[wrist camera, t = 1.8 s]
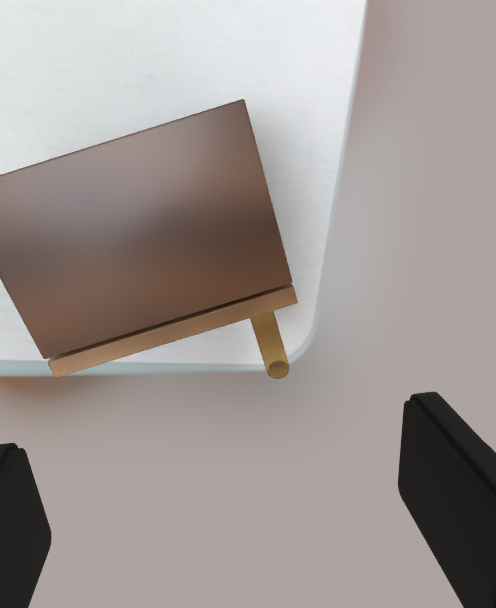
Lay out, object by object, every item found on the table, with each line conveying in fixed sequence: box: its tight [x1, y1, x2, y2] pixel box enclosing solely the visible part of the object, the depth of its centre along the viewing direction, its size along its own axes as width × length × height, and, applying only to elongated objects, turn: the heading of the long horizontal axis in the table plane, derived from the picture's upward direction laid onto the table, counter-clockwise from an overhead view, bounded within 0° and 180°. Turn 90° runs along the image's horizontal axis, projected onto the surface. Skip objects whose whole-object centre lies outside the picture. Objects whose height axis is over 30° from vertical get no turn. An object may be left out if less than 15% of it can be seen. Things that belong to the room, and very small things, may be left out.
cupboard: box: [0, 99, 292, 359], centre depth 26 cm, size 9×14×11 cm, turn 106°
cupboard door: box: [48, 283, 297, 379], centre depth 28 cm, size 6×14×10 cm, turn 106°
